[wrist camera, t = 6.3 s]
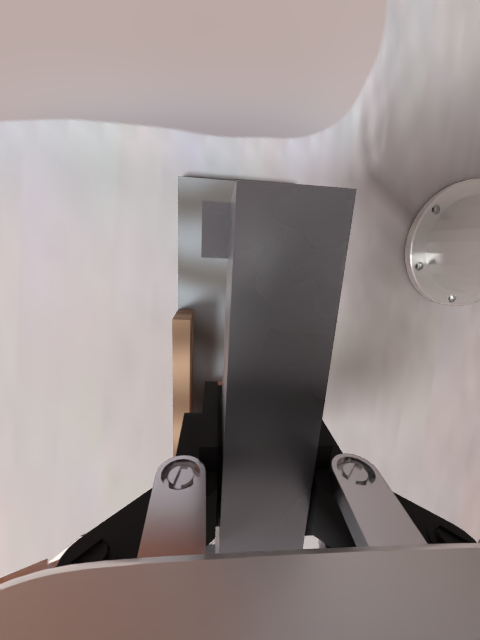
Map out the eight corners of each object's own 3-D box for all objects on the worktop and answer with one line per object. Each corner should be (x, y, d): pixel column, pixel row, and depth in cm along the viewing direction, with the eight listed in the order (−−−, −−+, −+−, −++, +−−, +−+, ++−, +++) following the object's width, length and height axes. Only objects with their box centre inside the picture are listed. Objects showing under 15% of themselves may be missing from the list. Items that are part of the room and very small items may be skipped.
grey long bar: (193, 218, 13) (156, 173, 5) (302, 225, 14) (426, 194, 6) (189, 558, 19) (168, 795, 11) (267, 555, 19) (303, 778, 11)
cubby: (179, 179, 25) (171, 162, 20) (286, 187, 26) (302, 173, 21) (179, 451, 32) (173, 487, 28) (263, 450, 33) (271, 484, 29)
